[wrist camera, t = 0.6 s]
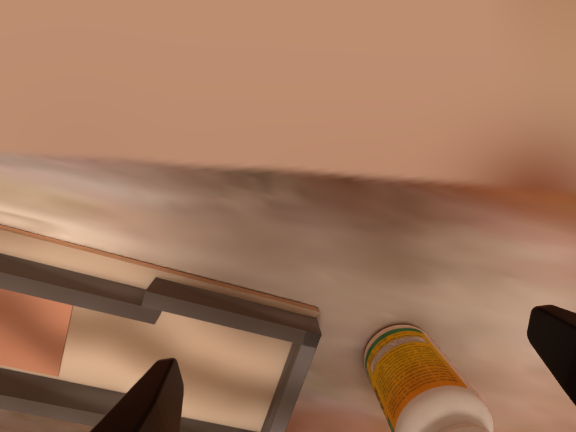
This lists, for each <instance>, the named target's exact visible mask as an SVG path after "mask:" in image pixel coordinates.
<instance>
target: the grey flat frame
mask: <svg viewBox="0 0 576 432" xmlns="http://www.w3.org/2000/svg"><path fill="white" fill-rule="evenodd" d="M318 313H319V311H318V308H317V307H314V306H310V305H306V304H302V303H298V302H295V301H291V300H287V299H283V298H279V297H275V296H272V295H268V294H264V293H260V292H256V291H252V290H249V289H245V288H241V287H237V286H233V285H229V284H226V283H222V282H218V281H214V280H210V279H206V278H203V277H199V276H195V275H191V274H187V273H183V272H179V271H176V270H172V269H168V268H164V267H160V266H156V265H153V264H149V263H145V262H141V261H137V260H133V259H130V258H126V257H122V256H118V255H114V254H110V253H107V252H103V251H99V250H95V249H91V248H87V247H83V246H80V245H76V244H72V243H68V242H64V241H60V240H57V239H53V238H49V237H45V236H41V235H37V234H34V233H30V232H26V231H22V230H18V229H14V228H11V227H7V226H3V225H0V409H5V410H11V411H16V412H21V413H26V414H32V415H37V416H42V417H48V418H53V419H58V420H64V421H69V422H74V423H80V424H85V425H90V426H96V425H97V423H98V422H99V421H100V420H101V419H102V418H103V417H104V416H105V415H106V414H107V413H108V412H109V411H110V410H111V409H112V408H113V407H114V406H115V404H116V403H117V402H118V401H119V400H120V399H121V398H122V397H123V396H124V395H125V394H126V393H127V392H128V391H129V390H130V389H131V388H132V387H133V386H134V384H135V383H136V382H137V381H138V380H139V379H140V378H141V377H142V376H143V375H144V374H145V373H146V372H147V371H148V370H149V369H150V368H151V367H152V365H153V364H154V363H155V362H156V361H158V360H160V359H166V358H176V360H177V361H178V365H179V368H180V372H181V376H182V380H183V384H184V396H183V405H182V414H181V423H180V432H285V430H286V427H287V425H288V422H289V419H290V417H291V414H292V411H293V409H294V406H295V403H296V401H297V398H298V396H299V393H300V390H301V388H302V385H303V382H304V380H305V377H306V374H307V372H308V369H309V366H310V364H311V361H312V359H313V356H314V353H315V351H316V348H317V345H318V343H319V340H320V337H321V331H320V328H319V325H318V322H317V315H318Z"/></svg>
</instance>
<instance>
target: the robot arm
mask: <svg viewBox="0 0 576 432" xmlns="http://www.w3.org/2000/svg"><path fill="white" fill-rule="evenodd" d="M527 336H528V339H529V342H530V343H531V345H532V346H533V348H534V349H535V350H536V352H537V353H538V355H539V356H540V357H541V359H542V360H543V362H544V363H545V364H546V366H547V367H548V369H549V370H550V371H551V373H552V374H553V376H554V377H555V378H556V380H557V381H558V383H559V384H560V385H561V387H562V388H563V390H564V391H565V392H566V394H567V395H568V396H569V398H570V399H571V400H572V402H573V403H574V404H575V405H576V313H574V312H571V311H568V310H565V309H562V308H559V307H557V306H554V305H543V306H536V307H534V308H533V309H532V311H531V314H530V319H529V324H528V330H527ZM183 396H184V384H183V380H182V376H181V372H180V368H179V365H178V361H177V360H176V358H166V359H160V360H158V361H156V362H155V363H154V364H153V365H152V367H151V368H150V369H149V370H148V371H147V372H146V373H145V374H144V375H143V376H142V377H141V378H140V379H139V380H138V381H137V382H136V383H135V384H134V386H133V387H132V388H131V389H130V390H129V391H128V392H127V393H126V394H125V395H124V396H123V397H122V398H121V399H120V400H119V401H118V402H117V403H116V404H115V406H114V407H113V408H112V409H111V410H110V411H109V412H108V413H107V414H106V415H105V416H104V417H103V418H102V419H101V420H100V421H99V422H98V423H97V425H96V426H95V427H94V428H93V429H92V430H91V431H90V432H180V423H181V414H182V405H183Z"/></svg>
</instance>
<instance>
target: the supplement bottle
mask: <svg viewBox="0 0 576 432" xmlns="http://www.w3.org/2000/svg"><path fill="white" fill-rule="evenodd" d="M364 367H365V371H366V373H367V376H368V378H369V380H370V383H371V385H372V387H373V389H374V392H375V394H376V396H377V399H378V401H379V403H380V406H381V408H382V410H383V412H384V415H385V417H386V419H387V421H388V424H389V426H390V428H391V431H392V432H493V420H492V417H491V414H490V411H489V409H488V407H487V406H486V404H485V403H484V402H483V400H482V399H481V398H480V397H479V395H478V394H477V393H476V392H475V390H474V389H473V388H472V387H471V386H470V384H469V383H468V382H467V381H466V380H465V378H464V377H463V376H462V375H461V374H460V373H459V371H458V370H457V369H456V368H455V367H454V366H453V364H452V363H451V362H450V361H449V359H448V358H447V357H446V356H445V355H444V353H443V352H442V351H441V350H440V348H439V347H438V346H437V345H436V344H435V342H434V341H433V340H432V339H431V338H430V337H429V335H428V334H426V333H425V332H424V331H423V330H421V329H419V328H417V327H415V326H410V325H394V326H390V327H387V328H385V329H383V330H381V331H380V332H378V333H377V334H376V335H375V336H374V337H373V338H372V339H371V340H370V342H369V343H368V345H367V347H366V350H365V353H364Z"/></svg>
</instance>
